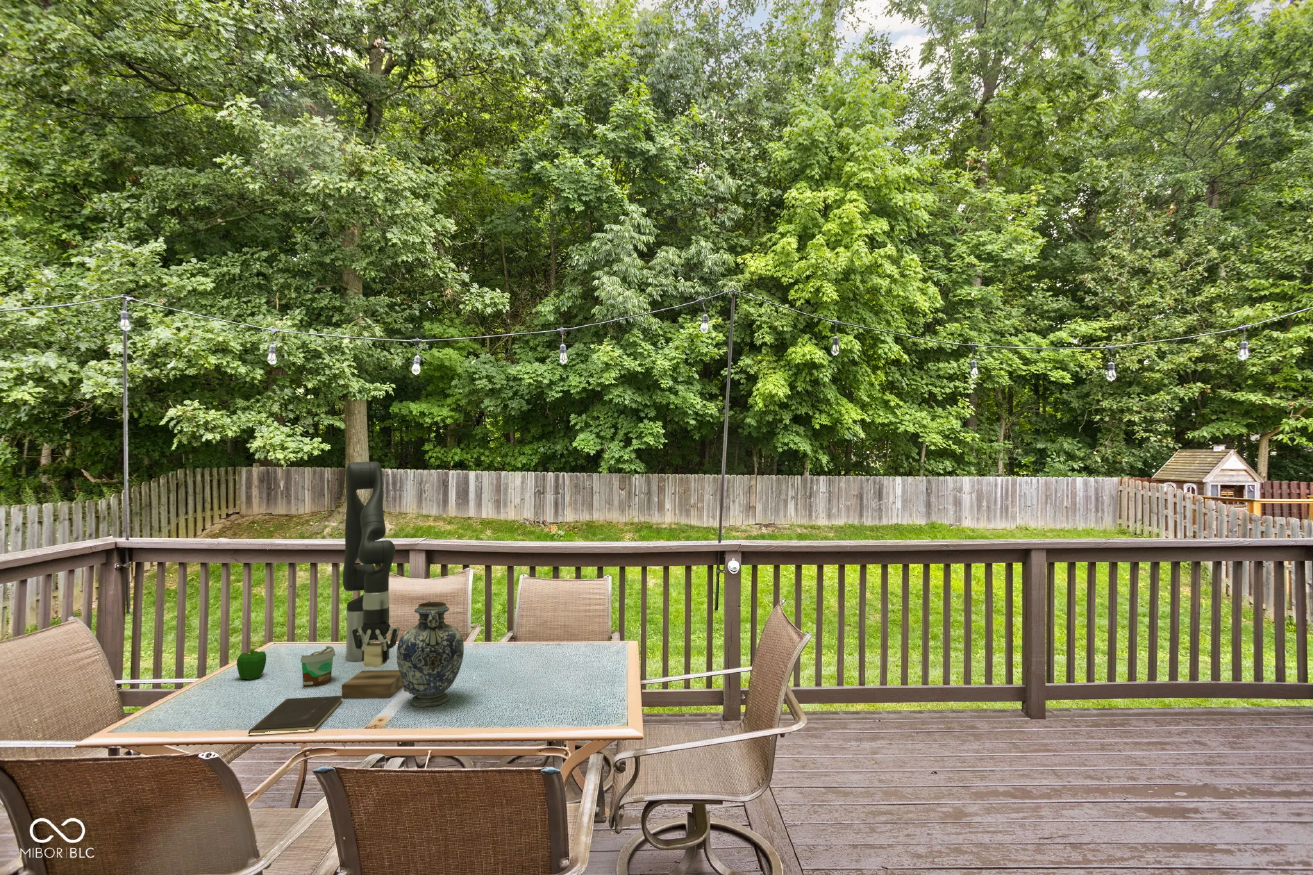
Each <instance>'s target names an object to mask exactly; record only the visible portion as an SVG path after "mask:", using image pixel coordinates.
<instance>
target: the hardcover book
mask: <svg viewBox="0 0 1313 875" xmlns="http://www.w3.org/2000/svg"><path fill="white" fill-rule="evenodd" d="M342 698H343V696H342V695H329V696H312V697H311V696H310V697H296V698H295V697H292V698H285V699H284V700H283V701H282V702H280V703H279V705H277V706H276V707H275V708H273V710H271V711H270V712H269V713H268V714H267V715H266V716H264V717H263V718H262V719H261V720H260V721H258V722H257V723H256V724H254V726H252V727H251V728H250V729H249V730H248V734H250V733H265V732H268V731H269V732H270V731H298V730H309V729H316V728H317V727H318V726H319V725H320V724H321V723H322V722H323V721H324V722H325V720H326V719H327V718H328V717H329V716H330V715H331V714H332V713H334V711H335V710H336V709H337V707H339V705H340V704H342V703H343V699H342ZM324 722H323V723H324ZM321 725H322V724H321ZM321 725H320V726H321ZM320 726H319V727H320ZM319 727H318V728H319ZM318 728H317V729H318ZM317 729H316V730H317Z"/></svg>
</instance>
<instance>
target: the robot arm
mask: <svg viewBox="0 0 1313 875" xmlns="http://www.w3.org/2000/svg"><path fill="white" fill-rule="evenodd" d="M345 469H346V470H345V487H346V488H345V489H346V490H345V492H346V509H345V510H346V512H345V522H344V524H345V525H344V528H345V529H344V543H345V544H344V559H343V569H342V570H343V571H342V587H343V589H344V590H345V591H347V592H358V591H363V594H362V595H360V596H359V597H356V598H354V599H351V600H350V601H348V602H347V604H346V634H345V635H346V636H345V637H346V638H345V639H346V640H345V641H346V643H345V644H346V645H345V653H346V654H345V657H346V658H345V660H347V661H349V662H359V661H362V662H364V647H365V646H367V645H368V644H370V643H371V642H375V641H378V642H380V644H381V645H383V663H385V664H386V663H387V662H388V660H389V659H390V649H393V648H394V647H396V644H397V642H398V641H397V640H398V636H399V632H400V627H399V626H396V627H394V626H391V625H390V592H389V590H390V587H389V586H390V584H389V583H390V572H391V568H392V564H393V562H394V558H395V555H396V546H395V544H394V543H393V541H392V540H386V539H385V540H384V539H383V540H381V539H382V538H384V537H385V535H386V533H387V528H386V522H385V517H384V478H383V477H384V476H383V469H382V466H381V464H380V462H378V461H352V462H349V463H348V464H347V466H346V468H345ZM357 490H359V491H360V490H372V493H371V496H370V498H369V499H368V500H367V502H366V503H365V504H364V503H363V502H362V500H361V498H360V497H359V495H358V492H357ZM357 560H358V561H359V562H360V563H361V564H356V562H357ZM378 564H381V566H380V567H379V568H378V569H377V568H376V566H375V565H378ZM388 633H389V634H390V640H389V638H388Z"/></svg>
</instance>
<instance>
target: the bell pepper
mask: <svg viewBox="0 0 1313 875" xmlns="http://www.w3.org/2000/svg"><path fill="white" fill-rule="evenodd" d="M266 663H267V653H266V651H265V650H263V651H257V650H256V649H255V648H254V647H251V648H250V650H249V653H248V652H241V653H240V654H239V656H237V659H236V669H237V672H238V675H239V678H240V679H241V680H249V681H250V680H255V679H258V678H261V676H262V675H263V673H264V670H265V667H266Z"/></svg>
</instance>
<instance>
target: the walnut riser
mask: <svg viewBox="0 0 1313 875" xmlns="http://www.w3.org/2000/svg"><path fill="white" fill-rule="evenodd" d="M401 679H402V677H401V675H400V672H399V669H395V670H394V669H387V670H386V669H384V670H383V669H382V670H381V669H380V670H375V669H374V670H371V669H369V670H366V669H365V670H361V671H360V672H358V673H357V674H355V675H354V676H352V677H351V678H350V679H348V680H347V681H344V683H343V684H342V685H341V696H343V698H342V700H345V699H390V698H392V696H393V695H395V694H396V693H397V692H398V691H399V690H400V689H402V688H403V683H401Z"/></svg>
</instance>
